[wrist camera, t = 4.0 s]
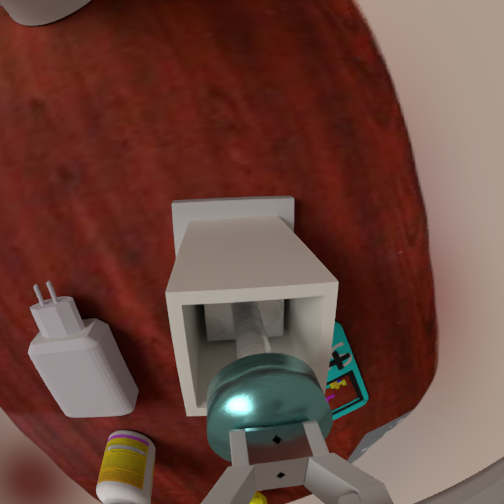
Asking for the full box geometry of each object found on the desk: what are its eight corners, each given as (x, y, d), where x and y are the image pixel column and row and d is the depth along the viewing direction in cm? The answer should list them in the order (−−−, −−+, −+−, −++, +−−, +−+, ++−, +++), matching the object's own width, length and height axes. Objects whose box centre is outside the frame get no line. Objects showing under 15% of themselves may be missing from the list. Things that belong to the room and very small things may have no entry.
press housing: (173, 200, 27) (127, 261, 12) (290, 195, 28) (370, 248, 13) (183, 306, 30) (165, 432, 15) (288, 300, 31) (343, 415, 16)
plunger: (202, 258, 20) (192, 390, 9) (278, 254, 21) (347, 374, 9) (207, 325, 22) (209, 473, 10) (277, 320, 22) (328, 459, 11)
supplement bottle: (100, 428, 34) (79, 505, 22) (144, 425, 34) (130, 509, 22) (122, 457, 36) (109, 529, 24) (163, 455, 37) (158, 532, 24)
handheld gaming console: (339, 320, 32) (370, 402, 36) (336, 315, 32) (367, 397, 37) (265, 356, 32) (312, 430, 37) (264, 350, 33) (310, 425, 38)
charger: (89, 264, 28) (140, 386, 33) (20, 281, 27) (74, 392, 32) (70, 284, 23) (133, 415, 28) (-2, 300, 23) (63, 417, 28)
